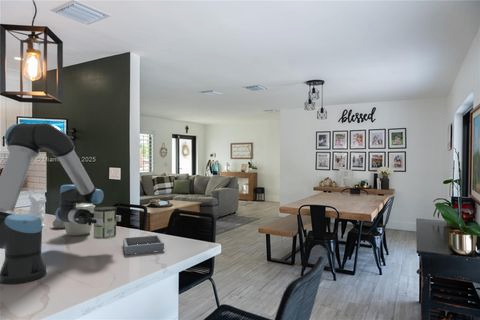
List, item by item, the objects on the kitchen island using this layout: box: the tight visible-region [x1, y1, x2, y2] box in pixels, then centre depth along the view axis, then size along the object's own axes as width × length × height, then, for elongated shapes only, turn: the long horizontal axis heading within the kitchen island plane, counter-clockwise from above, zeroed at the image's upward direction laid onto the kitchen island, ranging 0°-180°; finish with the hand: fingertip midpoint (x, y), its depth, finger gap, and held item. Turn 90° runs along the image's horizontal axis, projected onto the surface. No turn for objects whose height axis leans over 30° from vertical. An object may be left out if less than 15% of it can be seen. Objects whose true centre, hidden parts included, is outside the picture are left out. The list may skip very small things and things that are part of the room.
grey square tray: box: [122, 234, 165, 256], centre depth 164 cm, size 18×18×4 cm
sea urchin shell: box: [52, 218, 65, 229], centre depth 213 cm, size 13×14×8 cm
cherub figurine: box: [28, 194, 47, 228], centre depth 212 cm, size 12×12×22 cm
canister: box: [64, 203, 96, 237], centre depth 194 cm, size 18×18×21 cm
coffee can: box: [92, 206, 117, 240], centre depth 156 cm, size 10×10×14 cm
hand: (111, 220), depth 155 cm, fingers closed on coffee can, 10 cm apart
